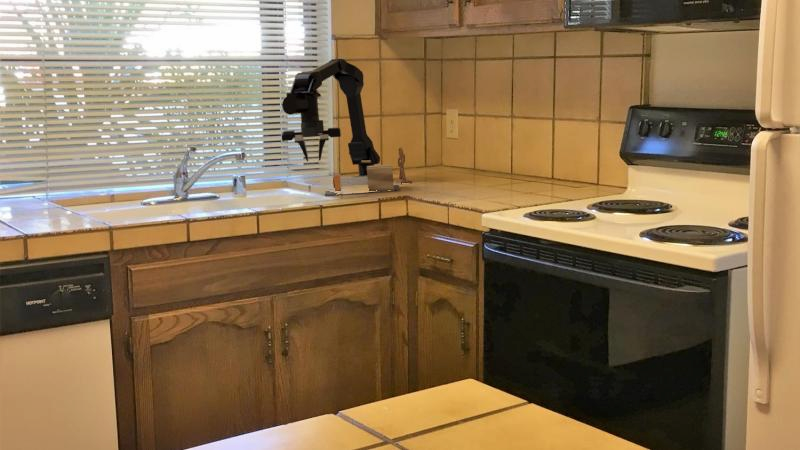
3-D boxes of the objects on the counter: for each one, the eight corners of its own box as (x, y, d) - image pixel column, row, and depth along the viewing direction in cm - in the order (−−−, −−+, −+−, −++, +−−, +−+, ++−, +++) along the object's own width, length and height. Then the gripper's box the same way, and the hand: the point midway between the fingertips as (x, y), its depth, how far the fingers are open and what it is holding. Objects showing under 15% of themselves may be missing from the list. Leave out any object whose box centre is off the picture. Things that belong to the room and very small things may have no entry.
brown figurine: (394, 181, 315) (391, 147, 313) (405, 180, 316) (402, 146, 314) (400, 184, 306) (398, 148, 304) (411, 183, 307) (409, 147, 305)
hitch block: (368, 187, 300) (366, 166, 298) (392, 185, 300) (391, 164, 299) (368, 191, 290) (367, 169, 289) (393, 189, 290) (392, 167, 289)
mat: (326, 191, 300) (325, 190, 300) (398, 186, 301) (398, 184, 300) (325, 196, 289) (324, 194, 289) (400, 190, 290) (400, 188, 290)
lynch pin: (334, 189, 297) (332, 173, 296) (383, 185, 297) (382, 170, 296) (333, 191, 292) (332, 175, 291) (384, 187, 292) (383, 171, 292)
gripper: (278, 115, 281) (282, 165, 284) (338, 111, 282) (342, 161, 285) (280, 113, 292) (285, 162, 295) (338, 109, 293) (342, 157, 296)
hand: (313, 160), depth 292 cm, fingers open, 4 cm apart
